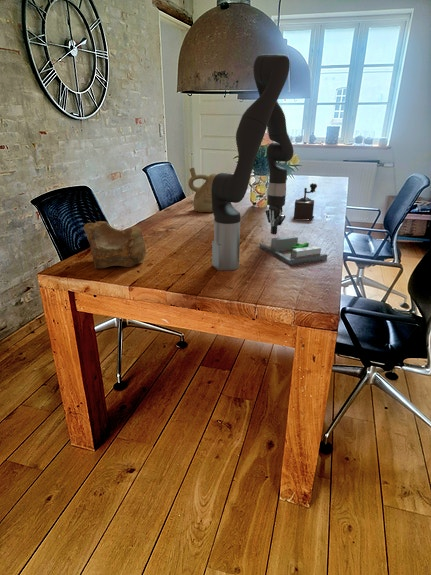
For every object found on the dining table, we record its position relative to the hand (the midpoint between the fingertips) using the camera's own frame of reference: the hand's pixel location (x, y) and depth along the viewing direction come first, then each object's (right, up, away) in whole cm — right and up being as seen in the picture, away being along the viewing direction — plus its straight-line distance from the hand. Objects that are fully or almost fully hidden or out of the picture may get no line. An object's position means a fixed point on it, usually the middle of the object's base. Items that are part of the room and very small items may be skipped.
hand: (273, 233), depth 165 cm
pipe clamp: (+8, -11, -13) cm, 18 cm away
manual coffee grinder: (+25, +16, +50) cm, 58 cm away
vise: (+6, -10, -11) cm, 16 cm away
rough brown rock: (-64, -15, -23) cm, 70 cm away
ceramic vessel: (-32, +23, +63) cm, 74 cm away
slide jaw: (+3, -7, -5) cm, 10 cm away
